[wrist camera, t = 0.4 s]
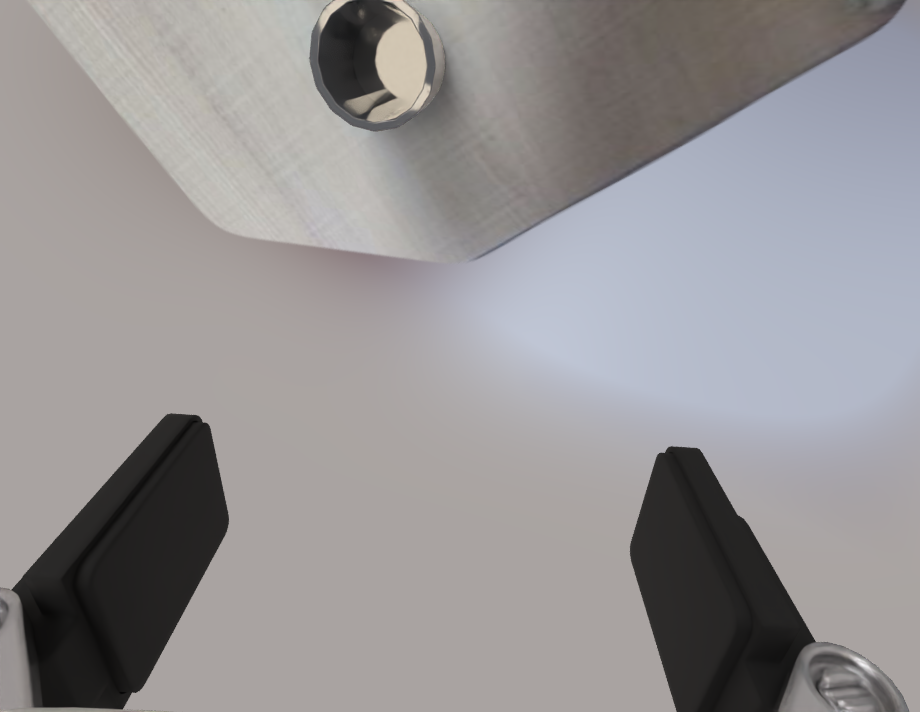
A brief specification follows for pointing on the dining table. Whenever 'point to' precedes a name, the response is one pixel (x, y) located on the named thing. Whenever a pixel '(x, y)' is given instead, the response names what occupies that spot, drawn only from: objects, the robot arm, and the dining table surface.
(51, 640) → the robot arm
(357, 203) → the dining table surface
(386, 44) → the cup
